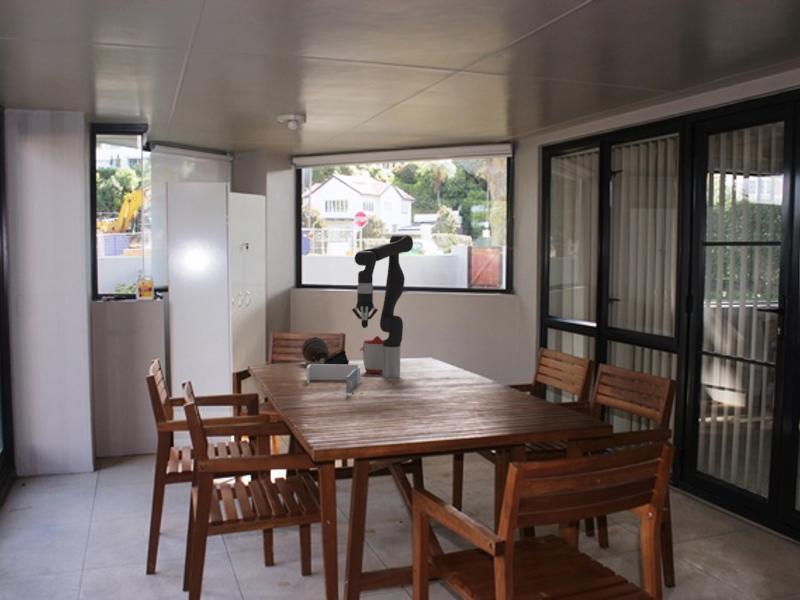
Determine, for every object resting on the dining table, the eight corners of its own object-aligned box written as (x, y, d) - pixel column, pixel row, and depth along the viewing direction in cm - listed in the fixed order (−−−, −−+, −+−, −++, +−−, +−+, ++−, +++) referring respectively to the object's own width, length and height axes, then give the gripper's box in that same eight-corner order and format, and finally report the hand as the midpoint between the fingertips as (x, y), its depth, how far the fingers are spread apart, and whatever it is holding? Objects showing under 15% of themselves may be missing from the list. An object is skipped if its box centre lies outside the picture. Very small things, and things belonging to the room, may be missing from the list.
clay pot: (311, 349, 403) (303, 335, 426) (306, 375, 406) (298, 360, 429) (337, 351, 408) (328, 337, 431) (332, 377, 411) (323, 362, 434)
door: (346, 393, 336) (346, 376, 336) (354, 384, 359) (354, 368, 358) (350, 393, 336) (350, 377, 335) (358, 384, 359) (358, 368, 358)
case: (308, 381, 370) (308, 364, 369) (360, 382, 371) (360, 364, 371) (306, 386, 358) (306, 368, 357) (359, 386, 359) (360, 368, 359)
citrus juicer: (360, 369, 410) (361, 333, 408) (391, 370, 409) (392, 334, 408) (357, 374, 394) (358, 337, 393) (390, 375, 393) (390, 338, 392)
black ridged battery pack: (356, 374, 383) (344, 349, 380) (334, 386, 379) (322, 361, 376) (353, 373, 387) (342, 348, 383) (331, 385, 383) (320, 360, 379)
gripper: (350, 292, 355) (349, 328, 356) (377, 293, 353) (376, 328, 355) (353, 291, 362) (352, 326, 364) (379, 292, 361) (379, 327, 362)
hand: (364, 327), depth 359 cm, fingers closed
